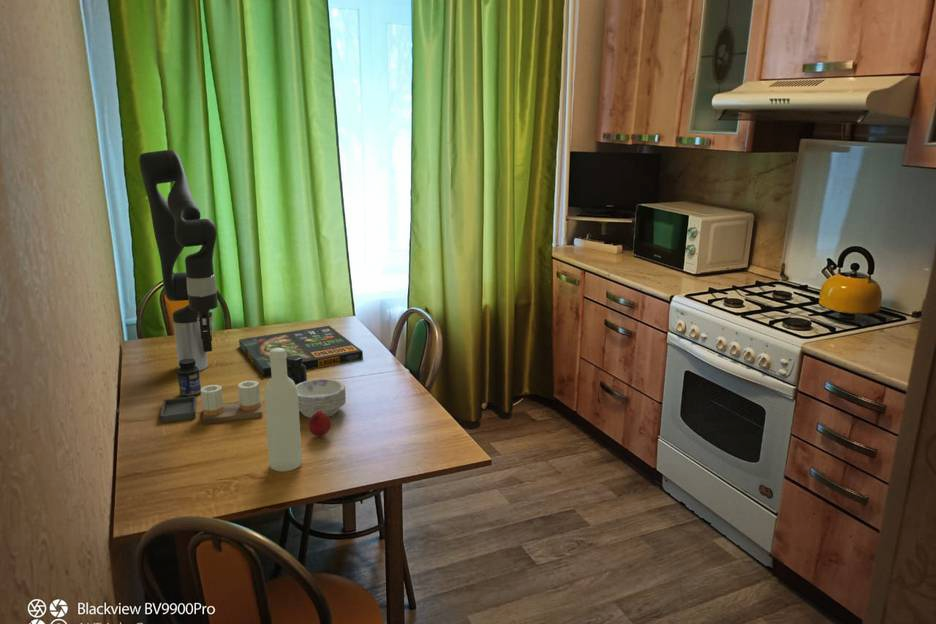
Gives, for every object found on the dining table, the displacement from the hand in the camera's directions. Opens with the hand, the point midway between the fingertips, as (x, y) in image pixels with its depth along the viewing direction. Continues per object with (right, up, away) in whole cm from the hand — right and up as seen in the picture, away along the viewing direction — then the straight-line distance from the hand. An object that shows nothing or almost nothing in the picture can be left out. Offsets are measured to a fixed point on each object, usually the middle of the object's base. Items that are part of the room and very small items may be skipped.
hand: (208, 346), depth 188 cm
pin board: (+6, -20, +4) cm, 21 cm away
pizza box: (+12, -6, +54) cm, 56 cm away
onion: (+34, -24, -10) cm, 43 cm away
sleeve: (+1, -19, +2) cm, 19 cm away
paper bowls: (+31, -20, +5) cm, 37 cm away
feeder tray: (-10, -19, +4) cm, 22 cm away
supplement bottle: (+21, -16, +18) cm, 32 cm away
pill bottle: (-12, -16, +17) cm, 26 cm away
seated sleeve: (+10, -18, +5) cm, 21 cm away
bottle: (+29, -28, -24) cm, 47 cm away
